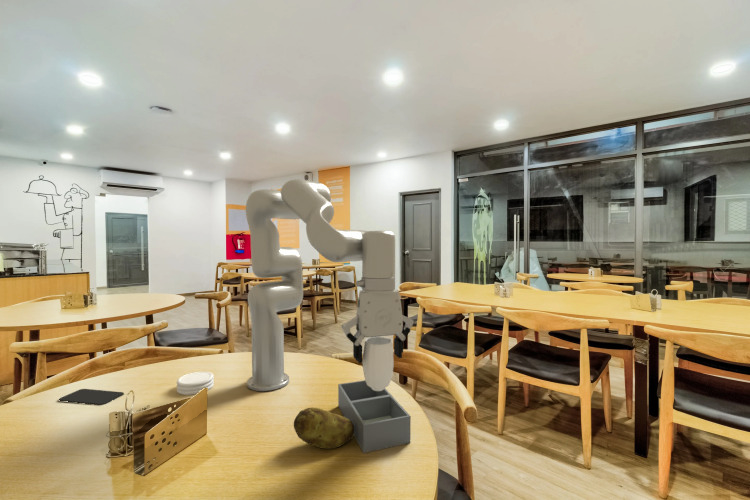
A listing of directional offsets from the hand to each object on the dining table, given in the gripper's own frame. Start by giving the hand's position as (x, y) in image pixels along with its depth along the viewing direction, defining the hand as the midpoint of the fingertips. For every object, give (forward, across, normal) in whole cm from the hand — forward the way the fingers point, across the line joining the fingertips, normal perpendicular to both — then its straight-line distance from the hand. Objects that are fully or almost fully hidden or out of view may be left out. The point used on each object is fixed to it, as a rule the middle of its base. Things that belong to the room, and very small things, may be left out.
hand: (378, 358), depth 81 cm
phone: (+18, -70, +46) cm, 86 cm away
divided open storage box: (+18, 0, +6) cm, 19 cm away
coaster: (+18, -44, +42) cm, 64 cm away
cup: (+17, 0, 0) cm, 17 cm away
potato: (+18, -13, 0) cm, 22 cm away
